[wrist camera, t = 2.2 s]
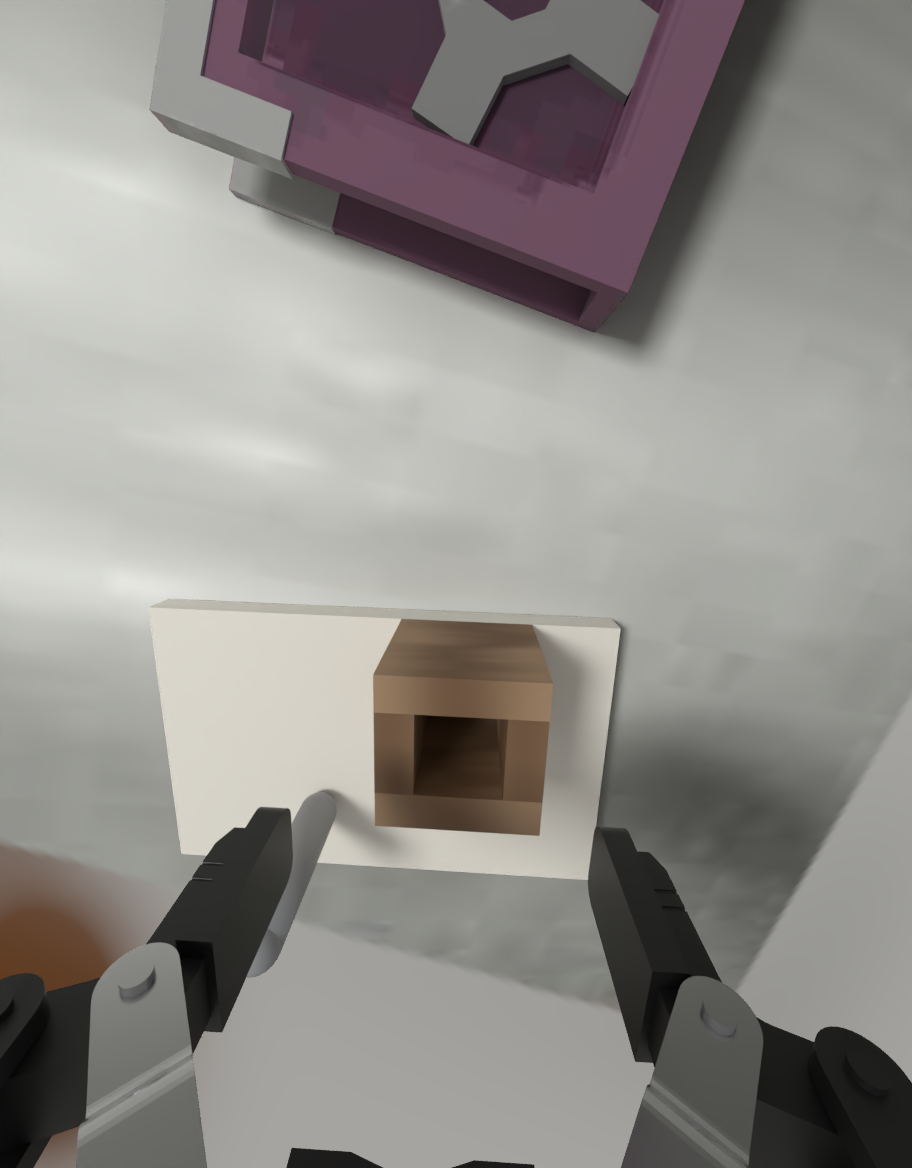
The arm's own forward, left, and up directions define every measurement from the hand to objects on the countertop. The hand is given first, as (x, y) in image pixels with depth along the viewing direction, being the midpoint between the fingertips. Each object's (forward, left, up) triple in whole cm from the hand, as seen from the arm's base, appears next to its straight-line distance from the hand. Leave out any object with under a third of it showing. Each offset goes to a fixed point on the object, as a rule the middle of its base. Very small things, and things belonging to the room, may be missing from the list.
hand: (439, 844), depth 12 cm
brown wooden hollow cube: (0, 0, -10) cm, 10 cm away
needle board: (+4, +4, -12) cm, 13 cm away
